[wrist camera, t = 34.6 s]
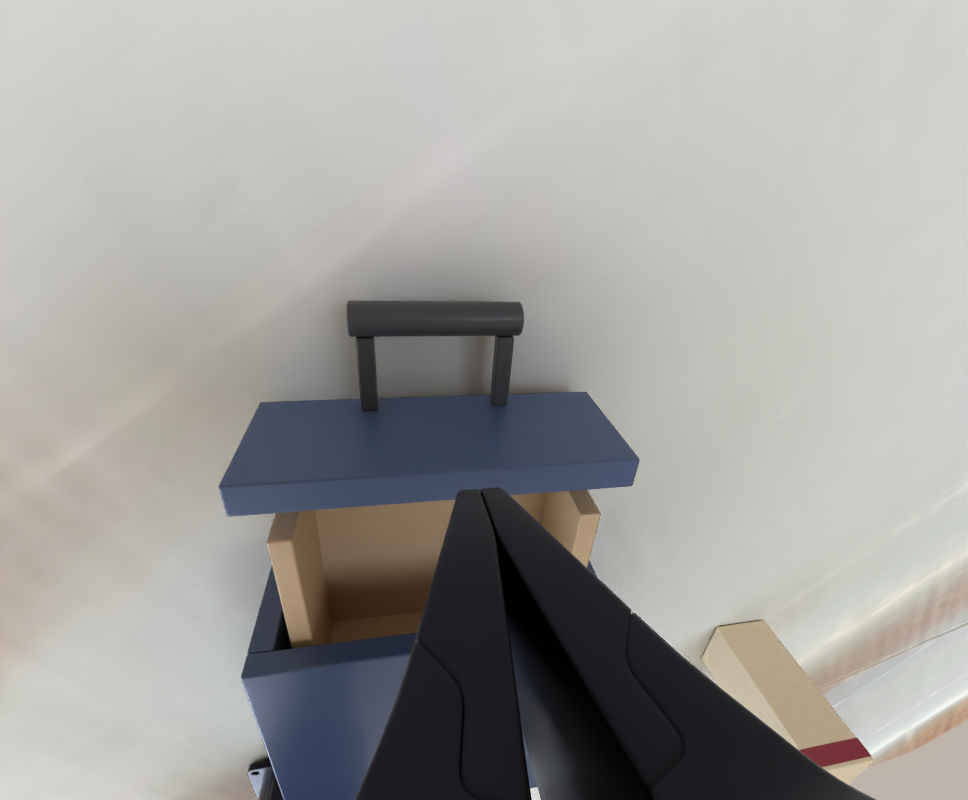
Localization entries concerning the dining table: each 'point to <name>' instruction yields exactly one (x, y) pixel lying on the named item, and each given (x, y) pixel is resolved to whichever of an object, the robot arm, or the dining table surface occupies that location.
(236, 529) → the dining table surface
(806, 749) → the snack carton
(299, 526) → the drawer
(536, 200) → the dining table surface
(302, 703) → the cabinet
